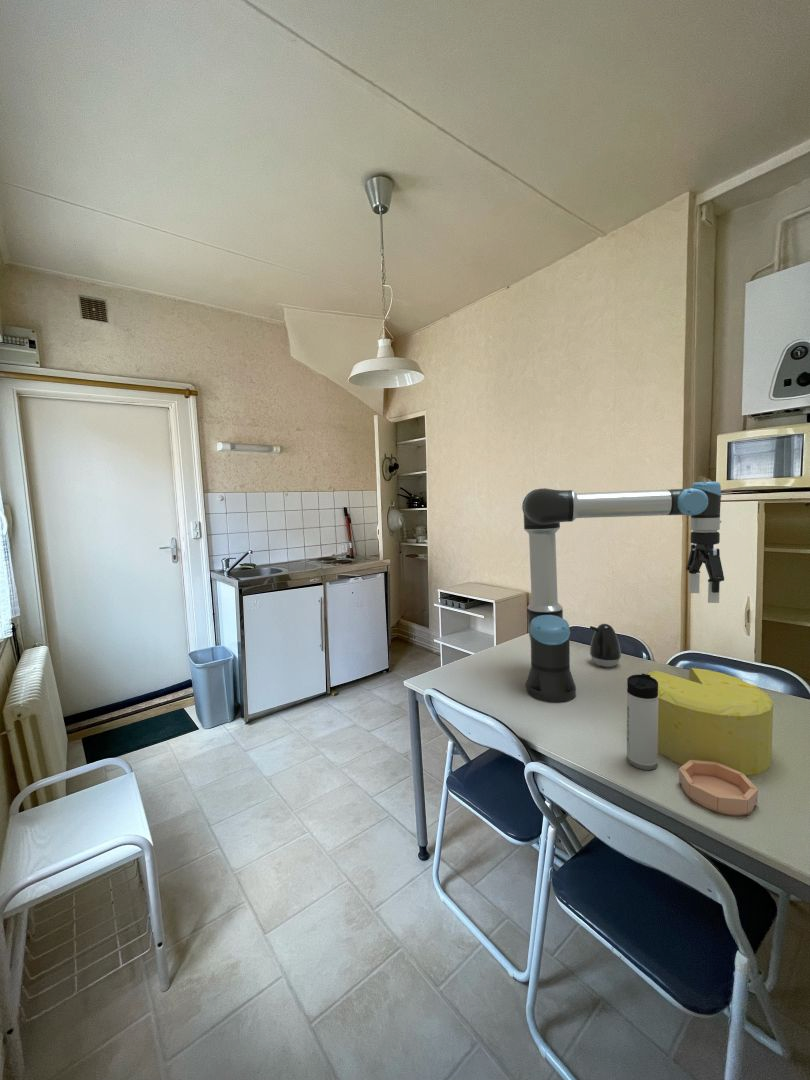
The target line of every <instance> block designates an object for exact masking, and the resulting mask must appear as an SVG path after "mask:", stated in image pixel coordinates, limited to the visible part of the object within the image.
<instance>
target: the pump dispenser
mask: <svg viewBox="0 0 810 1080" xmlns="http://www.w3.org/2000/svg"><path fill="white" fill-rule="evenodd" d="M589 629H590V630H592V631H594V633H593V635H592V639H591V642H590V648H589V650H590V651H589V655H590V656H591V659H592V661H593V663H594V664H596V665H597V666H600V667H603V668H613V667H615V666H616V665H618V663H619V662H620V659H621V658H622V654H621V653H622V652H621V651H622V650H621V646H620V641H619V639H618V635H617V633H616V631H615V629H614V628H613V627H612V625H610V624H609V623H601V624H599V625H598V626H597V627H596V626H592V625H590V626H589Z"/></svg>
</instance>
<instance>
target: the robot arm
mask: <svg viewBox="0 0 810 1080" xmlns="http://www.w3.org/2000/svg"><path fill="white" fill-rule="evenodd" d="M721 499H722V486H721V483H720V482H719V481H701V482H700V481H698V482H696V481H695V482H693V483H691V487H688V488H677V489H676V488H674V489H672V488H671V489H650V490H645V489H644V490H626V491H625V490H624V491H623V490H622V491H601V492H600V491H598V492H597V491H596V492H578V493H577V492H575V491H574V490H572V489H567V490H562V489H551V488H546V487H544V488H536V489H533V490H531V491H529V492H528V493H527V494H526V496H525V497H524V499H523V501H522V505H521V509H522V512H523V529H524V531H525V532H526V533H527V534H528V540H529V541H528V542H529V565H530V566H529V567H530V568H529V569H530V590H531V591H530V593H531V596H530V597H531V602H530V603H529V604H528V605H527V607H526V609H527V621H526V629H527V632H528V636H529V641H530V664H531V666H530V669H529V672H528V675H527V678H526V681H525V691H526V693H527V694H528V695H529V696H531V697H532V698H534V699H536V700H537V699H538V700H539V701H540V700H541V701H543V702H548V703H549V702H550V703H564V702H565V703H566V702H569V701H571V700H573V699H574V698H576V697H577V696H576V695H577V688H576V684H575V681H574V680H575V679H573V678H574V677H573V675H572V672H571V667H570V665H571V664H570V662H571V660H570V658H571V656H570V655H571V653H570V637H571V629H570V625H569V622H568V621H567V620H566V619H565V618H564V615H563V614H564V611H563V606H562V605H561V604H560V603H559V600H558V599H559V598H558V575H557V574H558V572H557V548H556V547H557V546H556V545H557V541H556V540H557V539H556V534H557V532H558V531H559V530H560V529H561V525H560V524H561V523H566V522H567V523H568V522H570V523H572V522H574V521H575V520H576V519H589V518H590V519H592V518H593V519H594V518H595V519H596V518H617V517H618V518H619V517H620V518H621V517H623V518H624V517H625V518H626V517H649V516H650V517H653V516H658V517H659V516H688V517H689V516H690V530H691V532H690V543H691V544H690V545H691V546H690V552H689V557H688V561H687V565H686V567H685V569H686V571H688V573H689V578H688V579H689V581H688V584H689V587H688V592H689V594H700V582H701V581H700V580H701V579H700V577H701V576H700V575H701V571H700V570H701V568H702V565H703V564H704V566H705V568H706V572H707V575H708V579H707V583H708V584H707V585H708V586H707V603H710V604H720V593H721V592H720V589H721V587H720V585H721V584H720V583H721V582H724V581H725V575H724V571H723V566H722V562H721V561H722V560H721V555H720V554H721V553H720V552H721V551H720V548H714V546H715V545H718V544H720V541H721V540H720V539H721V538H720V537H721V536H720V535H721V534H720V532H719V530H720V527H721V525H720V524H722V520H721Z"/></svg>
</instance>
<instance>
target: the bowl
mask: <svg viewBox="0 0 810 1080" xmlns="http://www.w3.org/2000/svg"><path fill="white" fill-rule="evenodd" d="M678 781H679V782H680V784H681V788H682V790H683V793H685V795H686V796H687V797H688V798H690V800H691V801H693V802H695V803H696V804H697V805H699V806H701V807H703V808H705V809H707V810H710V811H712V812H715V813H717V814H723V815H726V816H727V815H728V816H732V817H733V816H736V817H738V816H739V817H741V816H747V815H749V814H751V813H752V812H753V811H754V810H755V807H756V806H755V805H757V803H758V798H759V797H758V796H759V794H758V793H759V789H758V788H757V786H756V785H754V783H753V782H752V781H751V780H750V779H749V778H748V777H747V776H745V775H744V774H743V773H741V772H739V771H736V770H734V769H732V768H729V767H727V766H724V765H722V764H720V763H717V762H710V761H697V760H689V761H688V762H687V763H685V764H684V765H683V764H682V765H681V766H680V767H679V768H678Z"/></svg>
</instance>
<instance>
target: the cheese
mask: <svg viewBox="0 0 810 1080" xmlns="http://www.w3.org/2000/svg"><path fill="white" fill-rule="evenodd" d="M647 674H648V675H650V677H652V678H654V679H656V680H657V682H658V754H661V755H662V756H664V757H666V758H668V759H670V760H671V761H673V762H674V763H675V762H676V763H678V764H679V765H682V766H683V765H684V764H685V763H687V762H688V761H689V760H697V761H710V762H717V763H720V764H722V765H724V766H727V767H729V768H732V769H734V770H736V771H739V772H741V773H743V774H744V775H745V776H746V777H747V776H755V775H759V774H761V773H763V772H765V771H767V770H768V769H769V767H770V766H771V762H772V750H773V748H772V747H773V725H774V723H773V721H774V720H773V719H774V703H773V701H772V699H771V697H770V696H769V694H767V693H766V692H765V691H763V690H762V689H761V688H759V687H758V686H757V685H754V684H752V683H749V682H747V681H744V680H743V679H741V678H738V677H735V676H732V675H730V674H725V673H723V672H718V671H715V670H714V671H713V670H710V669H706V668H705V669H703V668H698V667H697V668H696V667H689V672H688V679H686V678H683V677H680V676H676V675H672V674H668V673H666V672H662V671H659V670H650V671H649V672H647Z"/></svg>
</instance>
